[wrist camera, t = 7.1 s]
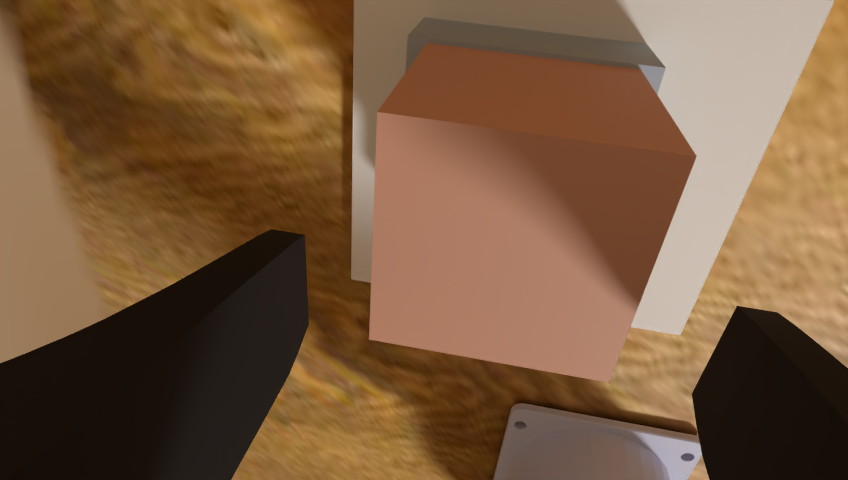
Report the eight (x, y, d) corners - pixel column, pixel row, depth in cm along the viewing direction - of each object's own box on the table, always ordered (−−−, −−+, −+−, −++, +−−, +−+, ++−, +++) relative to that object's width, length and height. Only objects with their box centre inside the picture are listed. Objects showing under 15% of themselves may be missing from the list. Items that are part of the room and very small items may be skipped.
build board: (675, 320, 20) (679, 335, 19) (356, 267, 21) (351, 279, 20) (819, -5, 14) (834, 0, 13) (362, -55, 15) (354, -53, 14)
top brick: (586, 249, 15) (609, 382, 11) (412, 221, 16) (369, 339, 11) (640, 69, 12) (696, 156, 8) (426, 42, 13) (377, 111, 9)
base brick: (590, 234, 18) (598, 277, 16) (409, 206, 18) (394, 244, 16) (647, 44, 14) (665, 67, 12) (424, 17, 15) (408, 35, 13)
